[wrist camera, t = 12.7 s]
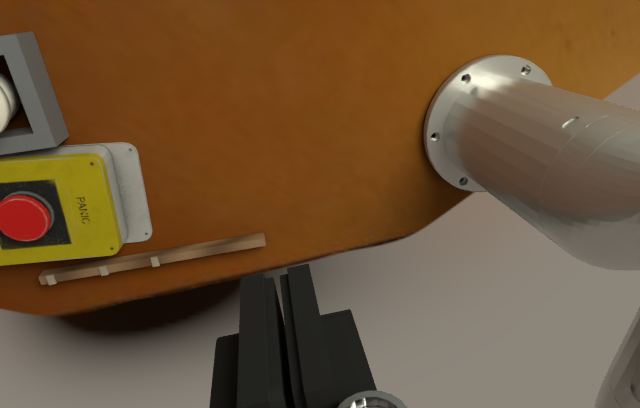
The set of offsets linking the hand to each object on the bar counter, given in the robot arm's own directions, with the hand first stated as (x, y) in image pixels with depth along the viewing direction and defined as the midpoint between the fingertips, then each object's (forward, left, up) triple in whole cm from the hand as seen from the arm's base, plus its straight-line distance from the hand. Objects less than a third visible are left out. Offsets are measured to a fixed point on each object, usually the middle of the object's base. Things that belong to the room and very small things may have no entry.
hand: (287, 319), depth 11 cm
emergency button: (+18, +6, -31) cm, 36 cm away
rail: (+11, +13, -30) cm, 35 cm away
